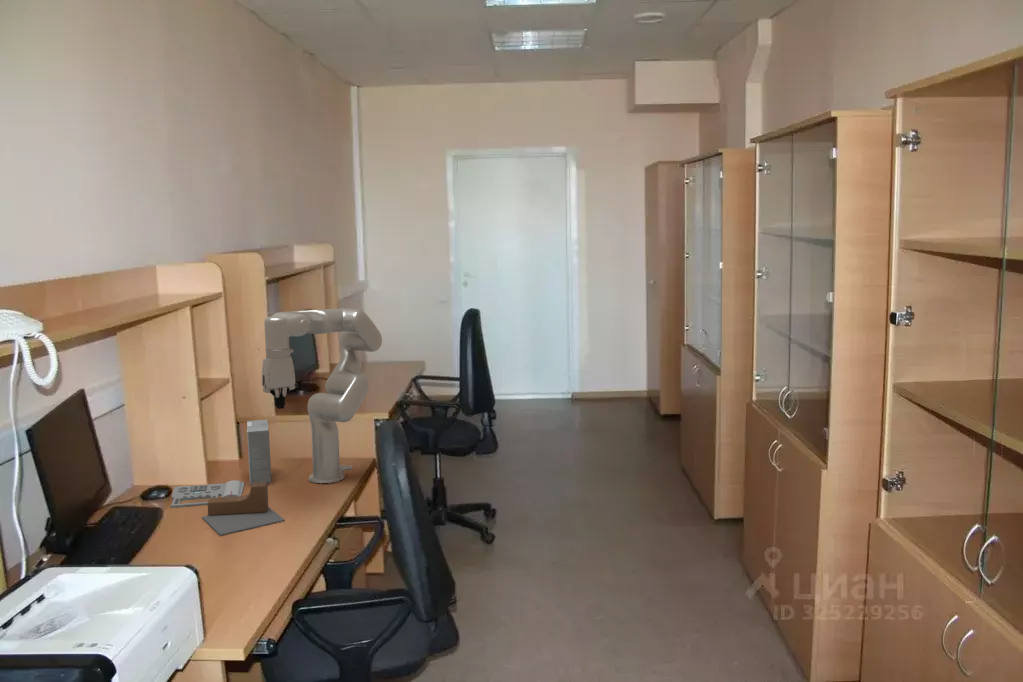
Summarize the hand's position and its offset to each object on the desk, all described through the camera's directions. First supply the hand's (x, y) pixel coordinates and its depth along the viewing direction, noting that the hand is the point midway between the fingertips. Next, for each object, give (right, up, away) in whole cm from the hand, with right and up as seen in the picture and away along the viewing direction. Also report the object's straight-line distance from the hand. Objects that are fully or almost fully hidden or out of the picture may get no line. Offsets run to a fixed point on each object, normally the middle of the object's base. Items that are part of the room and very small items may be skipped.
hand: (280, 408), depth 271 cm
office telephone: (-27, -31, +7) cm, 42 cm away
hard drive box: (-14, -28, +25) cm, 40 cm away
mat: (-7, -34, -15) cm, 38 cm away
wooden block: (-1, -28, -9) cm, 29 cm away
